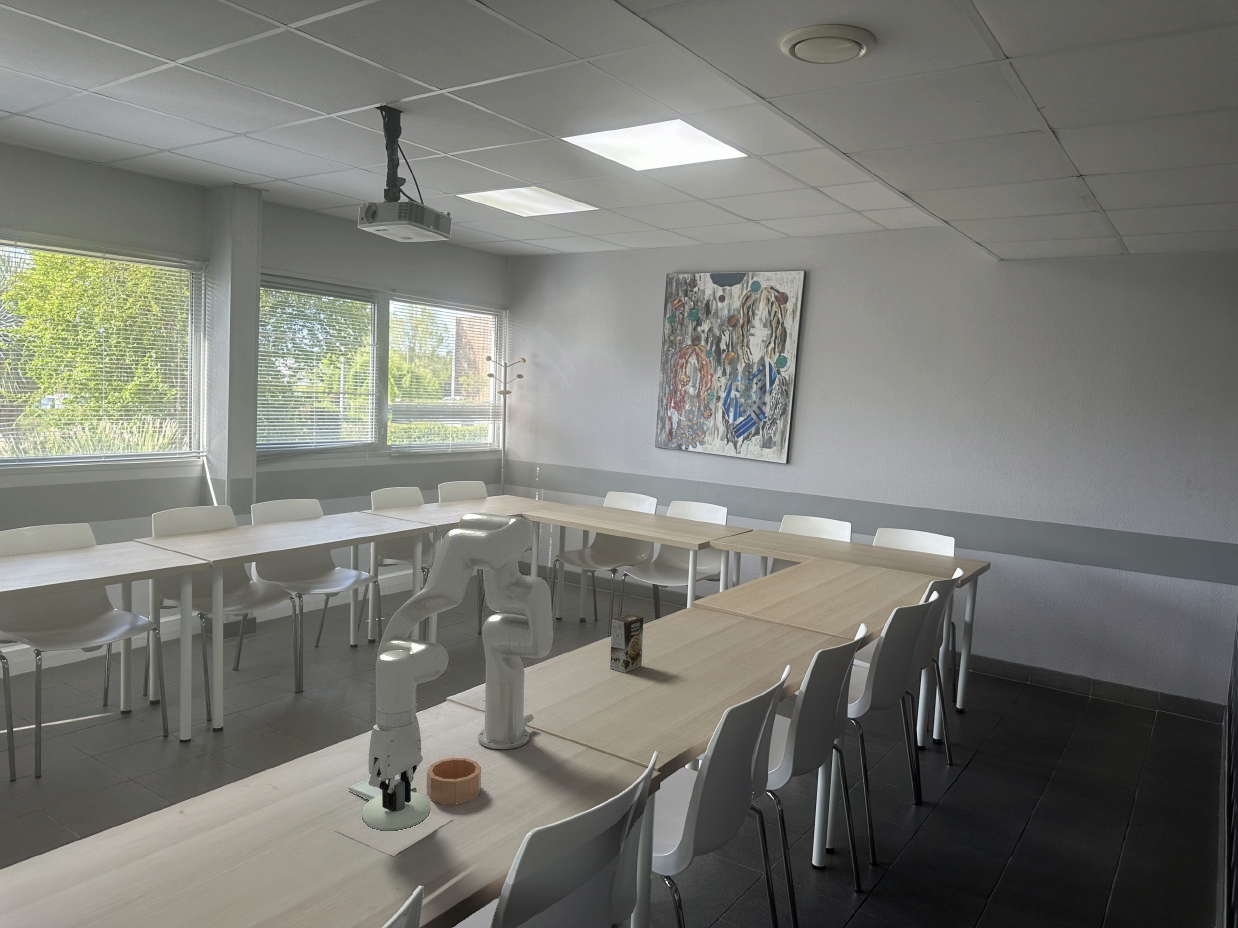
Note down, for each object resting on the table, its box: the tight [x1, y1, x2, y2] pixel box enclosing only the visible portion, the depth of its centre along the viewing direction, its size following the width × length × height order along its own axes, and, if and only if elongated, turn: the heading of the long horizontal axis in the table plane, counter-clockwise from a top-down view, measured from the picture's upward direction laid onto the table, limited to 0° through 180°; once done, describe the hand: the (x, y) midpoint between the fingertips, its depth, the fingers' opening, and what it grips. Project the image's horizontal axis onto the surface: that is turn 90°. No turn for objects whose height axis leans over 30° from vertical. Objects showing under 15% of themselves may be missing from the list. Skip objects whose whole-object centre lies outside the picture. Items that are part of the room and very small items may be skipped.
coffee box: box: [609, 613, 644, 673], centre depth 263 cm, size 9×6×16 cm
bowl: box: [426, 757, 482, 805], centre depth 178 cm, size 11×11×6 cm
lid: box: [361, 778, 431, 831], centre depth 163 cm, size 13×13×6 cm
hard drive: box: [347, 777, 418, 801], centre depth 176 cm, size 2×8×12 cm
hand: (396, 803), depth 163 cm, fingers closed on lid, 3 cm apart
